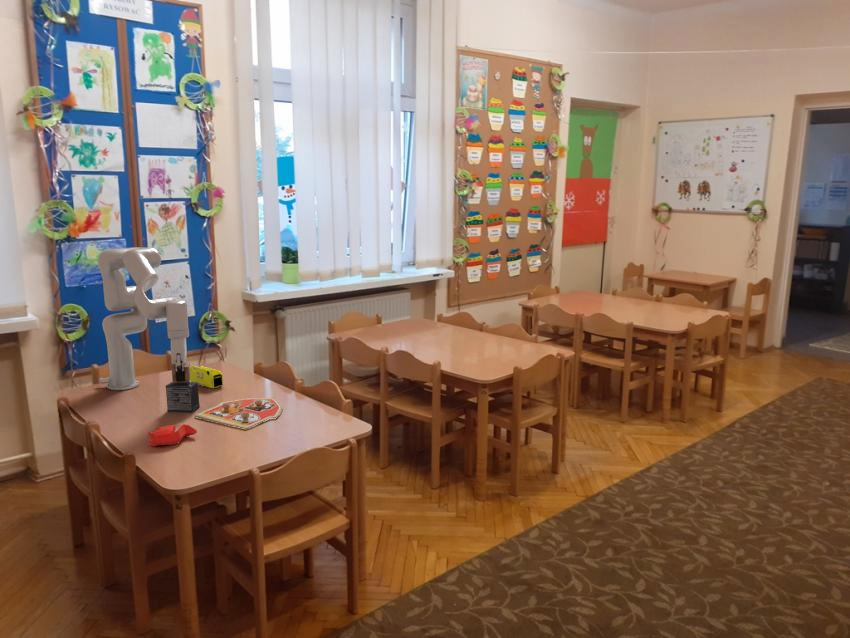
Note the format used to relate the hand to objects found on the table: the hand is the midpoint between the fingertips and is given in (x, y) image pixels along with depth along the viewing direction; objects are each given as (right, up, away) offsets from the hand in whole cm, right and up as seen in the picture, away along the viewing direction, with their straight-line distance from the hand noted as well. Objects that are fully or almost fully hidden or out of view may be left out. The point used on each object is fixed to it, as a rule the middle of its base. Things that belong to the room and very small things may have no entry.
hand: (181, 378), depth 253 cm
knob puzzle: (+25, -14, +1) cm, 29 cm away
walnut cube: (0, -1, 0) cm, 1 cm away
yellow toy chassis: (-1, -6, +32) cm, 33 cm away
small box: (0, -13, +3) cm, 13 cm away
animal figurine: (+7, -19, -27) cm, 34 cm away
